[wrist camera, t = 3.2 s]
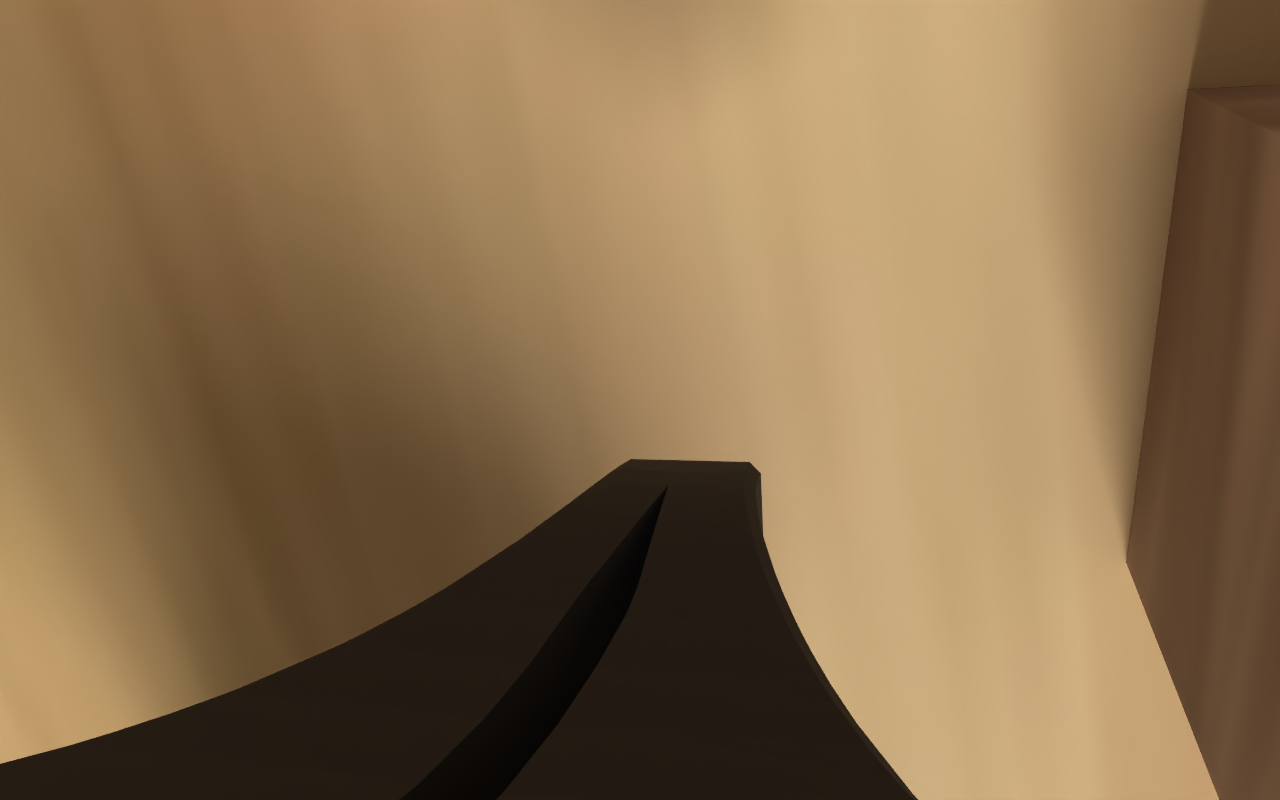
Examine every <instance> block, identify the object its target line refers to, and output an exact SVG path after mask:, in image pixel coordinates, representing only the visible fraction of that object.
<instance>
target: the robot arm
mask: <svg viewBox="0 0 1280 800" xmlns="http://www.w3.org/2000/svg"><path fill="white" fill-rule="evenodd" d="M0 800H918V799H917V798H916V797H915V796H914V795H913V794H912V792H911V791H910V790H909V789H908V787H907V786H906V785H905V784H904V782H903V781H902V780H901V779H900V777H899V776H898V775H897V774H896V772H895V771H894V770H893V768H892V767H891V766H890V765H889V763H888V762H887V761H886V760H885V758H884V757H883V756H882V755H881V753H880V752H879V751H878V750H877V748H876V747H875V746H874V745H873V743H872V742H871V741H870V740H869V738H868V737H867V736H866V735H865V733H864V732H863V731H862V729H861V728H860V727H859V726H858V724H857V723H856V722H855V720H854V719H853V717H852V716H851V714H850V713H849V711H848V710H847V708H846V707H845V705H844V704H843V702H842V701H841V699H840V698H839V696H838V695H837V693H836V692H835V690H834V689H833V687H832V686H831V684H830V682H829V681H828V679H827V677H826V676H825V674H824V672H823V671H822V669H821V667H820V666H819V664H818V662H817V661H816V659H815V657H814V655H813V654H812V652H811V650H810V648H809V646H808V644H807V643H806V641H805V639H804V637H803V635H802V633H801V631H800V629H799V627H798V625H797V623H796V621H795V619H794V616H793V614H792V612H791V610H790V608H789V605H788V603H787V601H786V599H785V597H784V594H783V592H782V589H781V587H780V584H779V582H778V579H777V577H776V574H775V571H774V568H773V565H772V562H771V559H770V556H769V553H768V550H767V547H766V544H765V541H764V537H763V522H762V495H761V473H760V472H759V471H758V470H757V469H756V468H755V467H754V466H753V465H752V464H751V463H750V462H721V461H680V460H639V459H630V460H629V461H627V462H625V463H624V464H622V465H621V466H619V467H618V468H616V469H615V470H613V471H612V472H610V473H609V474H608V475H606V476H605V477H604V478H602V479H601V480H600V481H598V482H597V483H596V484H594V485H593V486H592V487H590V488H589V489H588V490H586V491H585V492H584V493H582V494H581V495H580V496H578V497H577V498H576V499H574V500H573V501H572V502H570V503H569V504H568V505H566V506H565V507H564V508H562V509H561V510H559V511H558V512H557V513H555V514H554V515H553V516H551V517H550V518H549V519H547V520H546V521H544V522H543V523H542V524H540V525H539V526H538V527H536V528H535V529H534V530H532V531H531V532H529V533H528V534H527V535H525V536H524V537H523V538H521V539H520V540H518V541H517V542H515V543H514V544H512V545H511V546H509V547H508V548H506V549H505V550H503V551H502V552H500V553H499V554H497V555H496V556H494V557H493V558H491V559H489V560H488V561H486V562H485V563H483V564H482V565H480V566H479V567H477V568H476V569H474V570H473V571H471V572H470V573H468V574H467V575H465V576H464V577H462V578H460V579H459V580H457V581H456V582H454V583H453V584H451V585H450V586H448V587H447V588H445V589H443V590H442V591H440V592H438V593H437V594H435V595H433V596H432V597H430V598H428V599H427V600H425V601H423V602H421V603H419V604H418V605H416V606H414V607H412V608H411V609H409V610H407V611H405V612H403V613H402V614H400V615H398V616H396V617H394V618H392V619H390V620H388V621H386V622H384V623H382V624H380V625H379V626H377V627H375V628H373V629H371V630H369V631H367V632H365V633H363V634H361V635H359V636H357V637H355V638H353V639H351V640H349V641H347V642H345V643H343V644H341V645H339V646H337V647H335V648H332V649H330V650H328V651H325V652H323V653H321V654H318V655H316V656H314V657H311V658H309V659H307V660H304V661H302V662H300V663H297V664H295V665H293V666H290V667H288V668H286V669H283V670H281V671H279V672H276V673H274V674H272V675H269V676H267V677H265V678H262V679H260V680H258V681H255V682H253V683H251V684H248V685H246V686H244V687H241V688H239V689H236V690H234V691H231V692H229V693H226V694H223V695H221V696H218V697H215V698H212V699H210V700H207V701H204V702H201V703H199V704H196V705H193V706H190V707H187V708H185V709H182V710H179V711H176V712H174V713H171V714H168V715H165V716H162V717H159V718H156V719H152V720H149V721H146V722H143V723H140V724H137V725H134V726H131V727H128V728H125V729H122V730H119V731H116V732H113V733H110V734H106V735H103V736H100V737H96V738H93V739H90V740H86V741H83V742H80V743H76V744H73V745H70V746H66V747H62V748H59V749H55V750H51V751H47V752H44V753H40V754H36V755H32V756H28V757H25V758H21V759H17V760H13V761H9V762H6V763H2V764H0Z"/></svg>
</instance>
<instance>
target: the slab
mask: <svg viewBox="0 0 1280 800" xmlns="http://www.w3.org/2000/svg"><path fill="white" fill-rule="evenodd" d="M1126 563H1127V566H1128V568H1129V571H1130V573H1131V576H1132V578H1133V581H1134V583H1135V586H1136V588H1137V591H1138V594H1139V596H1140V599H1141V601H1142V604H1143V606H1144V609H1145V611H1146V614H1147V617H1148V619H1149V622H1150V624H1151V627H1152V629H1153V632H1154V634H1155V637H1156V639H1157V642H1158V645H1159V647H1160V650H1161V652H1162V655H1163V657H1164V660H1165V662H1166V665H1167V667H1168V670H1169V673H1170V675H1171V678H1172V680H1173V683H1174V685H1175V688H1176V690H1177V693H1178V695H1179V698H1180V701H1181V703H1182V706H1183V708H1184V711H1185V713H1186V716H1187V718H1188V721H1189V723H1190V726H1191V729H1192V731H1193V734H1194V736H1195V739H1196V741H1197V744H1198V746H1199V749H1200V752H1201V754H1202V757H1203V759H1204V762H1205V764H1206V767H1207V769H1208V772H1209V774H1210V777H1211V780H1212V782H1213V785H1214V787H1215V790H1216V792H1217V795H1218V797H1219V800H1280V85H1266V86H1246V87H1226V88H1206V89H1188V90H1187V98H1186V105H1185V113H1184V121H1183V129H1182V136H1181V144H1180V152H1179V159H1178V167H1177V175H1176V183H1175V190H1174V198H1173V206H1172V214H1171V221H1170V229H1169V237H1168V244H1167V252H1166V260H1165V268H1164V275H1163V283H1162V291H1161V299H1160V306H1159V314H1158V322H1157V330H1156V337H1155V345H1154V353H1153V360H1152V368H1151V376H1150V384H1149V391H1148V399H1147V407H1146V415H1145V422H1144V430H1143V438H1142V445H1141V453H1140V461H1139V469H1138V476H1137V484H1136V492H1135V500H1134V507H1133V515H1132V523H1131V530H1130V538H1129V546H1128V554H1127V561H1126Z"/></svg>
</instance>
